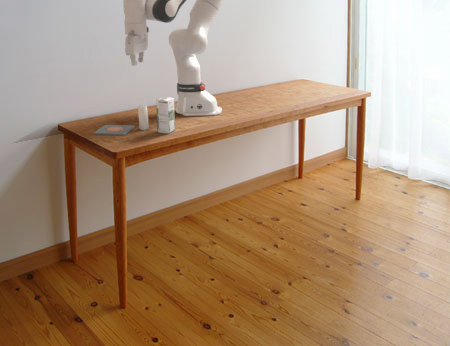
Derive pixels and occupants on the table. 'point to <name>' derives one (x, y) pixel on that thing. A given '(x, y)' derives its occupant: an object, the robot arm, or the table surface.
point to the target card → (114, 130)
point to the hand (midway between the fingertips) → (137, 63)
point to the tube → (143, 117)
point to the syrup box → (165, 115)
